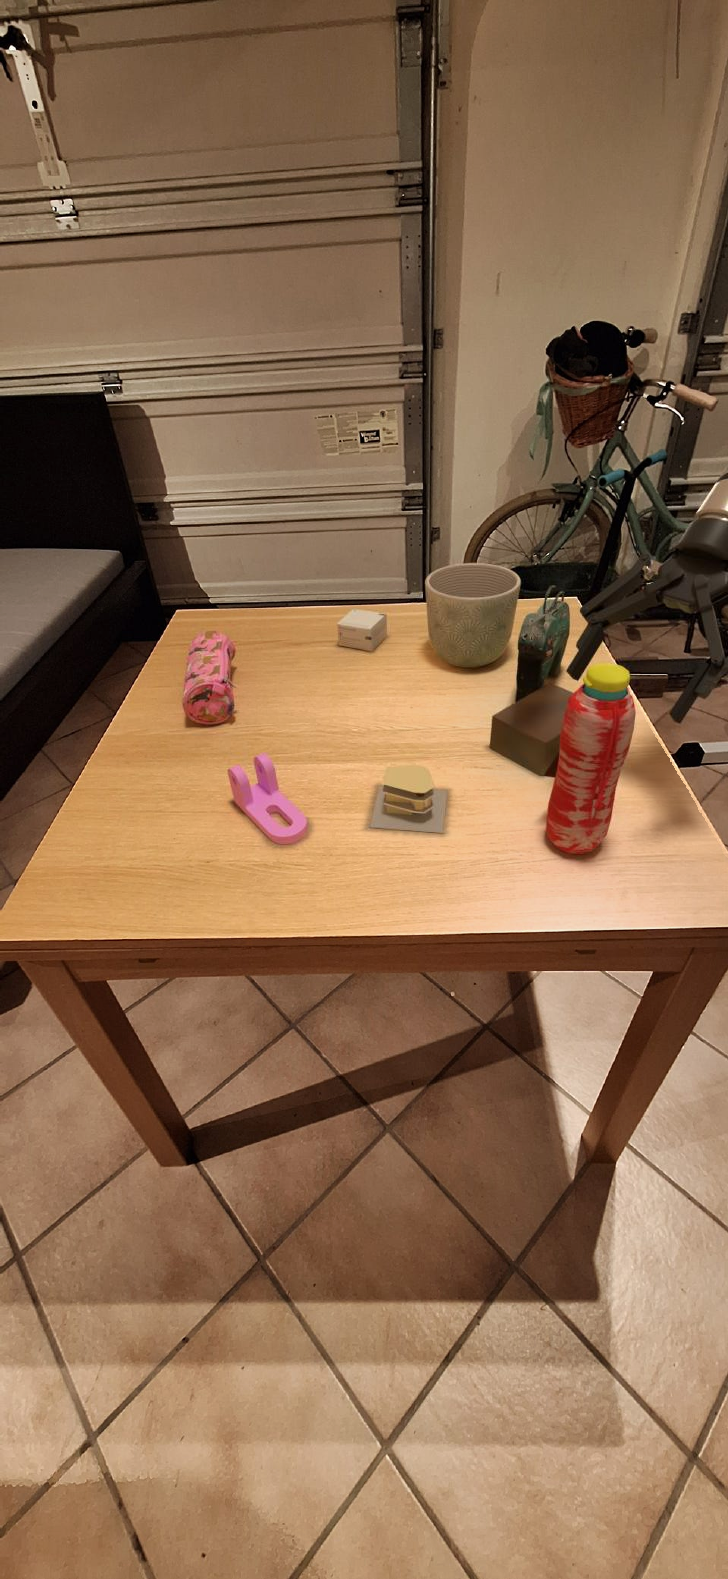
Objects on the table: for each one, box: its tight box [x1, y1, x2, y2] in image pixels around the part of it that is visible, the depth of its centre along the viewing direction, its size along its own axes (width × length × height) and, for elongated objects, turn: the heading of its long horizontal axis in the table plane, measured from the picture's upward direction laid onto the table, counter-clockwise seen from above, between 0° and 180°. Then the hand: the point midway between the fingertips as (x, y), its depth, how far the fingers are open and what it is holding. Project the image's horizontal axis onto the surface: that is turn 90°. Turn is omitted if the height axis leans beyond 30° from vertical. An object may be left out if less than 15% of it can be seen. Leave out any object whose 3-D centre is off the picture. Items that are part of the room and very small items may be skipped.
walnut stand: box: [489, 682, 574, 777], centre depth 98 cm, size 10×14×6 cm
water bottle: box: [542, 662, 637, 855], centre depth 76 cm, size 12×8×25 cm, turn 2°
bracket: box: [227, 752, 309, 845], centre depth 87 cm, size 13×6×7 cm, turn 37°
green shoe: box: [514, 584, 571, 703], centre depth 105 cm, size 20×6×20 cm, turn 151°
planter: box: [424, 562, 522, 668], centre depth 118 cm, size 17×17×15 cm
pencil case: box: [181, 629, 237, 725], centre depth 114 cm, size 21×9×9 cm, turn 10°
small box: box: [336, 608, 388, 653], centre depth 129 cm, size 8×8×5 cm
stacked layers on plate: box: [369, 765, 448, 834], centre depth 87 cm, size 10×9×6 cm
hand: (620, 696), depth 75 cm, fingers open, 13 cm apart
